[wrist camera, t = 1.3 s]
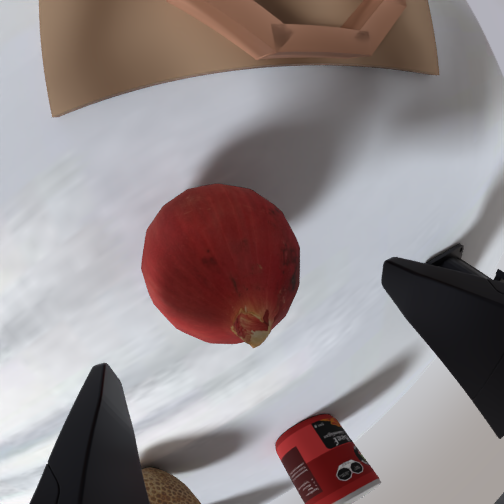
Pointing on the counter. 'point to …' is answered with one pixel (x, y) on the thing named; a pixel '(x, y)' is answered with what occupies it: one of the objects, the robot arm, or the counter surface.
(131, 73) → the onion holder
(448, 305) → the robot arm
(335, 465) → the canned food
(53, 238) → the counter surface
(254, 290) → the onion
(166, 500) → the natural sponge
